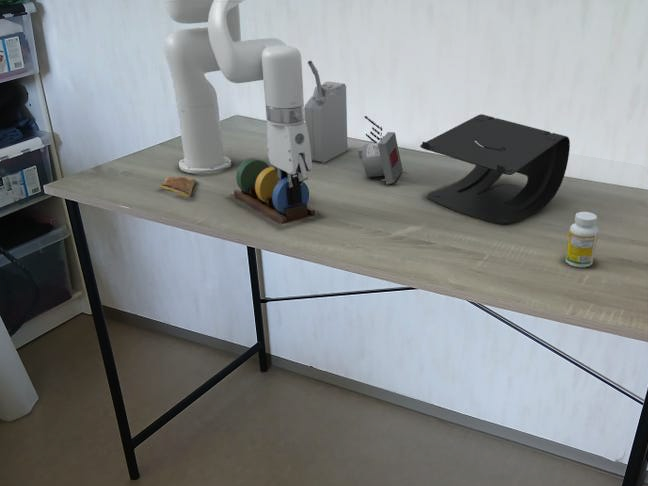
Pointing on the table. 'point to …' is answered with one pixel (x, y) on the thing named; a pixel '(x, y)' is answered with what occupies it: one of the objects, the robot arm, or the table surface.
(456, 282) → the table surface
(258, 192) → the mustard disc
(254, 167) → the green disc
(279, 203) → the blue disc
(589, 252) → the supplement bottle
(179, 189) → the shard
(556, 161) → the laptop stand
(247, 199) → the disc rack
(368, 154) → the voltmeter
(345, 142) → the gas can
